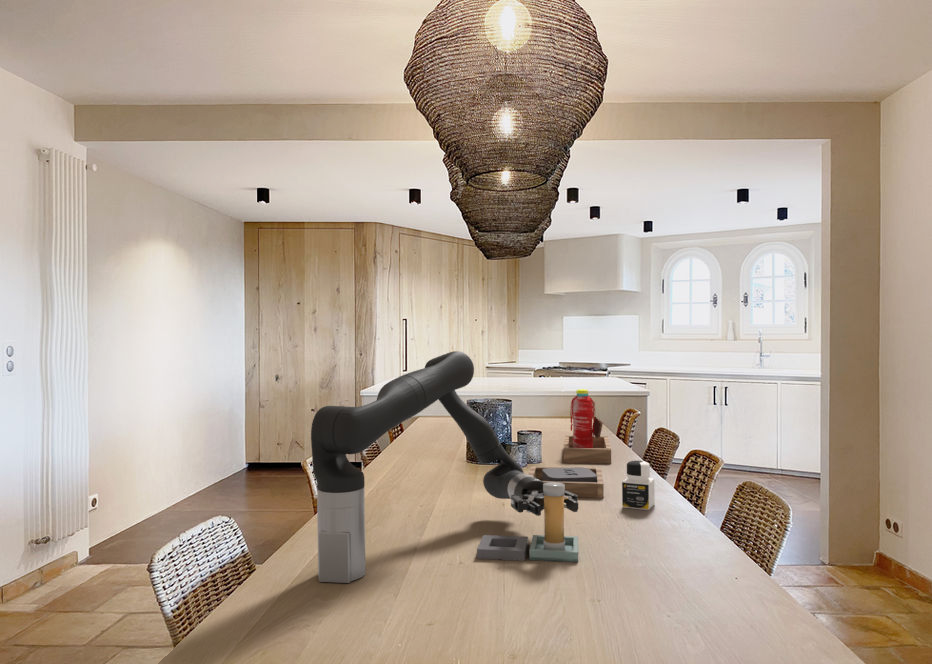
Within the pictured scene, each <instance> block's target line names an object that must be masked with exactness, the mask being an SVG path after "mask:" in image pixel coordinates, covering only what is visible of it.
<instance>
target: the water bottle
mask: <svg viewBox="0 0 932 664" xmlns="http://www.w3.org/2000/svg"><path fill="white" fill-rule="evenodd" d="M575 392H576V395H575V397H573V398H572V400H571V403H570V409H571V410H570V412H569V413H570V415H569V416H570V432H572V436H573V448H593V440H594V436H595V437H596V438H598V437H599V438H600V436H601V435H602V434H601V432H602V430H603V424H604V422H602V421H601V420H600V419H598V418H597V417H596V416H595V411H596V401H594V400H593V399H592V397H590V395H589V390H588V389H584V388H583V389H582V388H580V389H577V390H576V391H575Z"/></svg>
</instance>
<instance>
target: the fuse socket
mask: <svg viewBox="0 0 932 664" xmlns="http://www.w3.org/2000/svg"><path fill="white" fill-rule="evenodd" d="M528 549H529V536H519V535H518V536H516V535H493V534H492V535H491V534H490V535H489V534H483V536H482V537H481V539H480V541H479V544H478V546H477V547H476V559H481V560H482V559H483V560H498V559H502V561H525V560H526V556H527V551H528Z"/></svg>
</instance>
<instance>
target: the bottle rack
mask: <svg viewBox="0 0 932 664" xmlns="http://www.w3.org/2000/svg"><path fill="white" fill-rule="evenodd" d="M562 451H563V463H571V464H573V463H574V464H576V463H578V464H579V463H580V464H582V463H583V464H586V463H587V464H612V446H611V443H610V440H609V436H604V435H602V436H601V435H600V438H599V437H598V438H596V437H595V435H594V440H593V448H573V435H565V436H564V443H563V450H562Z"/></svg>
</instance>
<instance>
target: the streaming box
mask: <svg viewBox="0 0 932 664" xmlns="http://www.w3.org/2000/svg"><path fill="white" fill-rule="evenodd" d="M588 468H589V467H584V466H583V467H582V466H581V467H579V466H578V467H576V466H575V467H573V466H572V467H567V468H546V469H543V470H542V481H563V482H597V475H596V474H595V473H594V472H592V471H591V470H590V469H588Z"/></svg>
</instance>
